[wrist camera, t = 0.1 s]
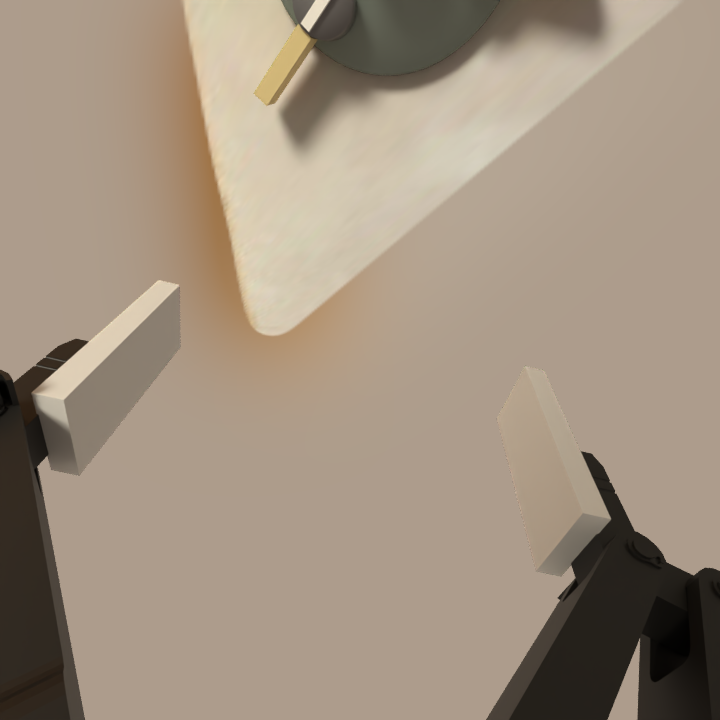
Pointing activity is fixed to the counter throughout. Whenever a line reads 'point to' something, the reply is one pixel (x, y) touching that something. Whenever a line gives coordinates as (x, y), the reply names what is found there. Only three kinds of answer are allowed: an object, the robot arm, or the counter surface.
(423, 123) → the counter surface
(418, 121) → the counter surface
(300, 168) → the counter surface
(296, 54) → the knob
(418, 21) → the tribrach plate
